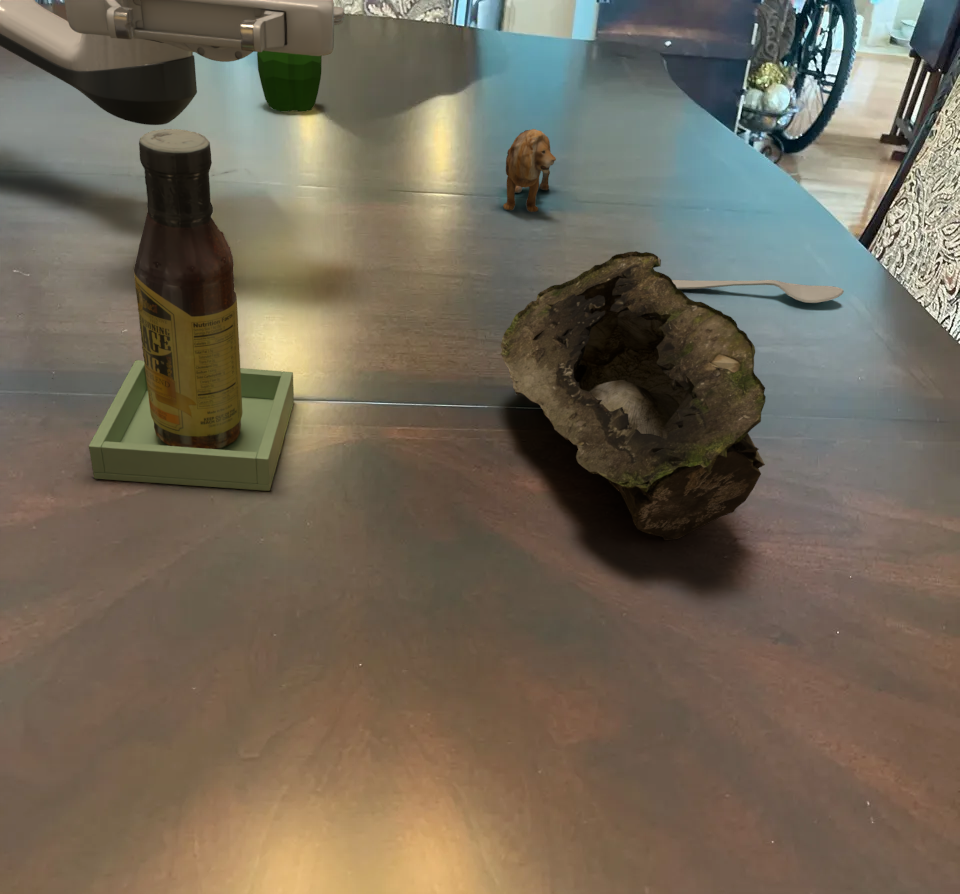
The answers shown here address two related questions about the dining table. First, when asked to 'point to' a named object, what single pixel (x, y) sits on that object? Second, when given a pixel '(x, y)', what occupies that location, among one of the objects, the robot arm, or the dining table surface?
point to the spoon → (793, 290)
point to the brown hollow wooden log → (644, 390)
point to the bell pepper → (289, 80)
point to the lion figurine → (528, 167)
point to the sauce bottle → (186, 298)
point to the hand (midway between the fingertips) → (184, 32)
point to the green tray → (242, 465)
